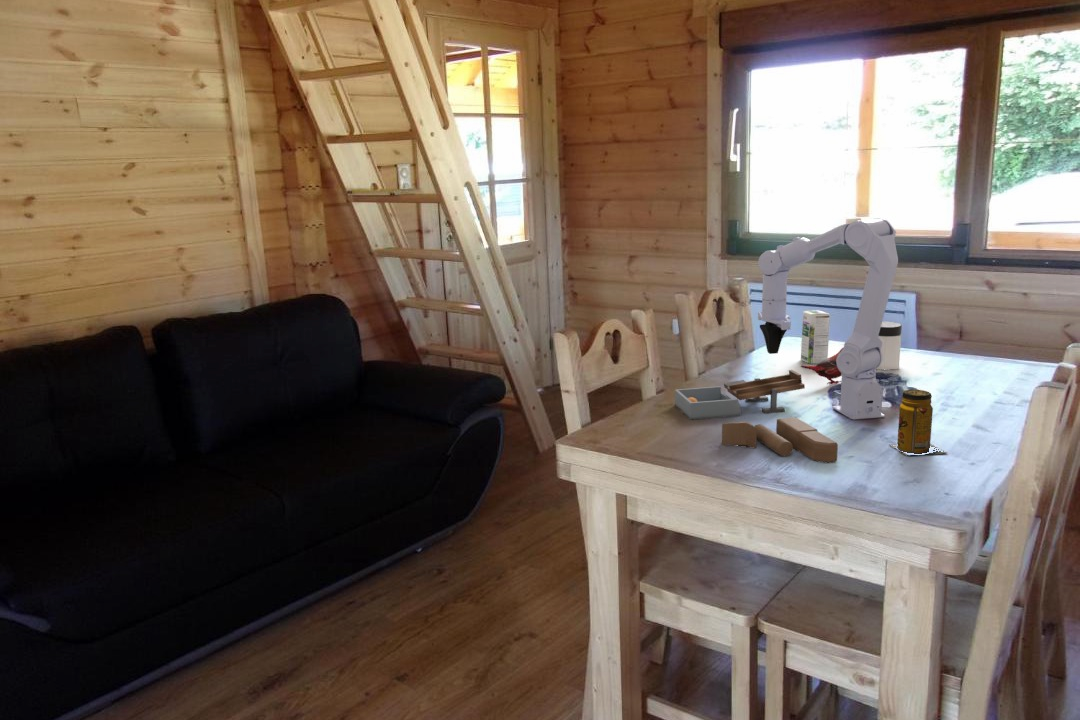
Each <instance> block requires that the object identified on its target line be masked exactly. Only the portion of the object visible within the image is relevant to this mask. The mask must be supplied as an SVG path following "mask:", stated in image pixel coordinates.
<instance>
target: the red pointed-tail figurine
mask: <svg viewBox="0 0 1080 720" xmlns="http://www.w3.org/2000/svg"><path fill="white" fill-rule="evenodd" d="M842 349H843V347H841V349H840V350H839V351H838V352H837V353H836V354H833V356H830V357H828V359H826V360H824V361H822V362H820V363H817V364H816V365H800V368H804V369H808V370H810V371H811V370H812V371H813V372H815V373H816V374H817V375H818V376H820V377H824V378H825V379H827V380H828V382H827V383H826V385H828V384H829V385H834V384H835V385H837V384H839V383H842V380H840V381H838V380H833V379H837V378H839V377H842V376H841V372H840V371H839V369H838V367H837V364H836V359H837V356H838V354H839V353H840V352H841V351H842Z"/></svg>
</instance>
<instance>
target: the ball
mask: <svg viewBox="0 0 1080 720" xmlns="http://www.w3.org/2000/svg"><path fill="white" fill-rule="evenodd" d="M688 399H689V400H690V401H691V402H697V400H696V399H695V398H693V397H690V398H688Z"/></svg>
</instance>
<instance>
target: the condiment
mask: <svg viewBox="0 0 1080 720" xmlns="http://www.w3.org/2000/svg"><path fill="white" fill-rule="evenodd" d="M932 397H933V396H932V393H931V392H929V391H927V390H923V389H906V390H903V392H902V400H901V402H902V403H900V405H899V411H898V412H899V414H898V429H897V443H894V444H895V445H896V444H898V446H897V448H898V449H899V450H900V452H899V453H901V451H903V452H907V453H914V454H922V453H927V452H929V448H930V446H931V447H935V445H934V444H932V442H931V439H932V437H931V436H932V425H933V424H932V423H933V412H934V411H933V409H934V408H933V405H932ZM888 445H889V446H891V447H892V448H893V449H894V448H895V447H896V446H893V444H890V443H889V444H888ZM935 448H938V447H937V446H936V447H935ZM935 448H934V449H935ZM939 449H940V448H939ZM939 449H938V450H939ZM936 450H937V449H936ZM933 451H935V450H933ZM944 451H945V450H943V452H941V451H939V452H938V451H936V452H933V453H935V454H933V453H929V455H940V454H947V453H948V451H945V452H944ZM902 454H903V455H905V456H906V457H908V456H907V455H906V454H905V453H902ZM929 455H928V456H929Z"/></svg>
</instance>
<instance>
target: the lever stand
mask: <svg viewBox="0 0 1080 720" xmlns="http://www.w3.org/2000/svg"><path fill="white" fill-rule="evenodd" d="M760 379H761V378H759V377H758V378H754V379H753V381H754V380H760ZM745 401H746V402H748V403H751V402H752V403H754V402H756V403H757V402H767V401H769V397H768V395H766V396H760V397H755V398H750V399H745ZM769 405H770V407H764V408H763V407H762V408H761V412H762V413H763V414H765V415H766V414H775V413H778V414H779V413H785V412H786V408H785V407H783V406H778V393H777V389H771V395H770V402H769Z"/></svg>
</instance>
